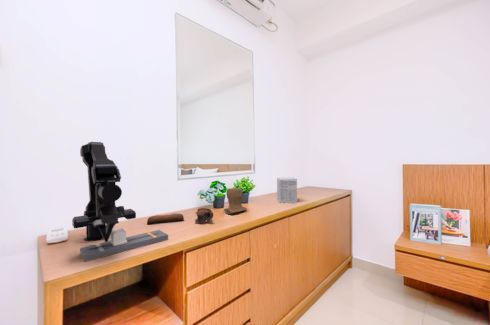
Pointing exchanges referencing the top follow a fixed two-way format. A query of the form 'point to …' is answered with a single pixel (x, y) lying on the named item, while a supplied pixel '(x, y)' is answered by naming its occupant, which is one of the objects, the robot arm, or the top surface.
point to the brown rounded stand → (234, 200)
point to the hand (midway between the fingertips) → (106, 241)
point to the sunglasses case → (164, 218)
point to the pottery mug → (203, 215)
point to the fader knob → (118, 237)
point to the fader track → (122, 245)
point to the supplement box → (287, 190)
